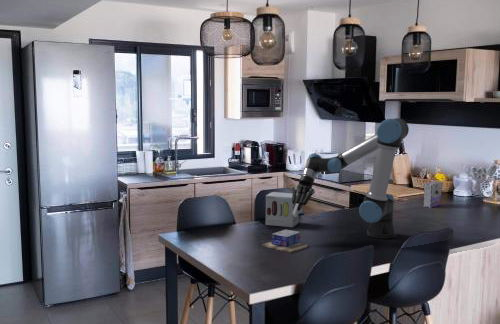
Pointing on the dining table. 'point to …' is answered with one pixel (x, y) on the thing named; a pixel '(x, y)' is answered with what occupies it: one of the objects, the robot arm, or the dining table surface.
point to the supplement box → (280, 210)
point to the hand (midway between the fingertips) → (294, 215)
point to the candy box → (432, 194)
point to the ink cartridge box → (285, 237)
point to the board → (286, 249)
